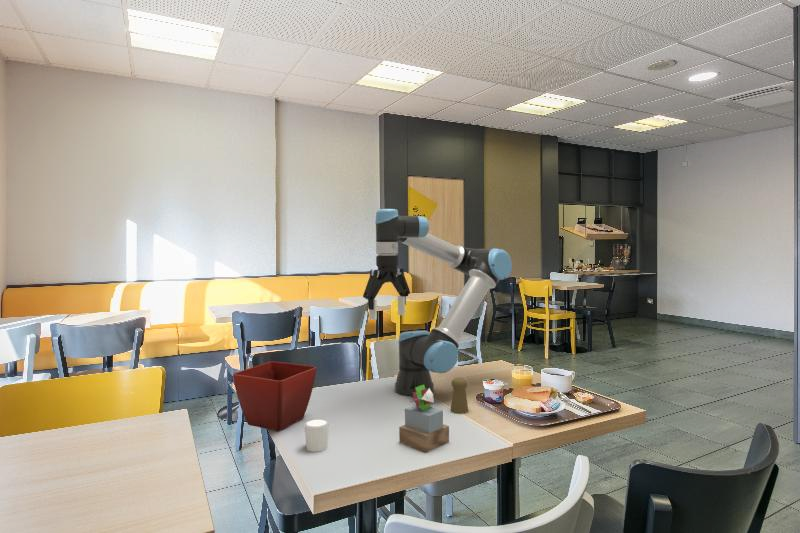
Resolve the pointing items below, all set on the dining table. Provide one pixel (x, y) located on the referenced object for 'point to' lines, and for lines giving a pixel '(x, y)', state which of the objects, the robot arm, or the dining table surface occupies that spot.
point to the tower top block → (424, 419)
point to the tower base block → (423, 438)
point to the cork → (459, 396)
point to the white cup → (316, 434)
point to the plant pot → (274, 393)
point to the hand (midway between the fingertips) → (387, 317)
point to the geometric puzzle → (423, 397)
